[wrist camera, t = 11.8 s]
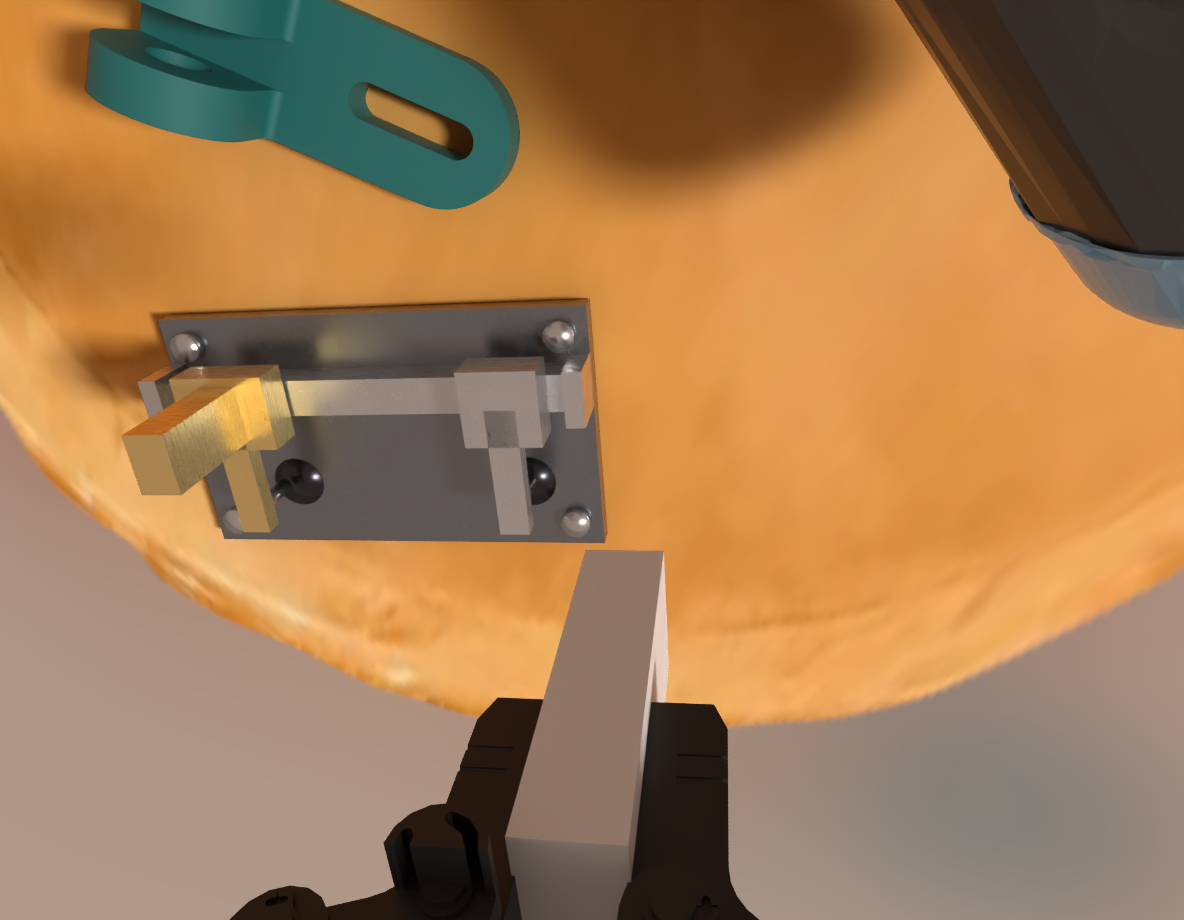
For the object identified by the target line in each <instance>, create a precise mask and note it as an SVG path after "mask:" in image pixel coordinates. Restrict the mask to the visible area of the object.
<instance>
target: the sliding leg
mask: <svg viewBox="0 0 1184 920" xmlns="http://www.w3.org/2000/svg"><path fill="white" fill-rule="evenodd" d="M169 383H170V386H171V389H172V392H173V396H174V399H175V403H173V404H172V405H170V406H168V407H167V408H165V409H164V410H162V411H160V412H159V413H157V414H156V415H154V416H152V417H151V418H149V419H147V420H146V421H144V422H143V423H141V424H139V425H138V426H136V427H135V428H133V429H131V430H130V431H128V432H126V433H125V434H123V435H122V439H123V442H124V445H125V448H126V450H127V453H128V456H129V459H130V462H131V465H132V468H133V471H134V474H135V476H136V479H137V482H138V485H139V488H140V491H141V494H142V495H182V494H183V493H185V492H186V491H187V490H188V489H190V488H191V487H192V486H193V485H195V484H196V483H197V482H198V481H200V480H201V479H202V478H203V477H205V476H206V475H207V474H208V473H210V472H211V471H212V470H213V469H215V468H216V467H217V466H218V465H220V464H221V463H222V462H223V463H224V467H225V470H226V473H227V477H228V480H229V484H230V487H231V490H232V494H233V497H234V501H235V504H236V508H237V511H238V514H239V518H240V521H241V525H242V528H243V531H244V532H271V531H272V530H273V529H274V528H275V527H276V526H277V525H278V524H279V521H278V517H277V514H276V510H275V506H274V505H275V504H276V503H277V502H278V501H279V500H280V499H281V498H282V497H283V496H284V495H285V494H286V493H287V492H288V491H289V490H291V488H292V484H291V482H290V481H289V480H287V479H281V480H280V481H279V482H278V483H277V484H275V485H274V486H273V487H272V488H271V489H270V488H269V484H268V480H267V477H266V473H265V469H264V466H263V462H262V458H261V455H260V451H259V450H278V449H279V448H280V447H281V446H283V445H284V444H285V443H286V442H287V441H288V440H289V439H291V438H292V437H293V436H294V435H295V431H294V427H293V423H292V419H291V415H290V411H289V407H288V403H287V399H286V395H285V391H284V387H283V383H282V379H281V375H280V371H279V367H278V365H240V366H202V367H190V368H188V369H186V370H185V371H183V372H181V373H179V374H178V375H176V376H174V377H172V378H171V379H169Z"/></svg>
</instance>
